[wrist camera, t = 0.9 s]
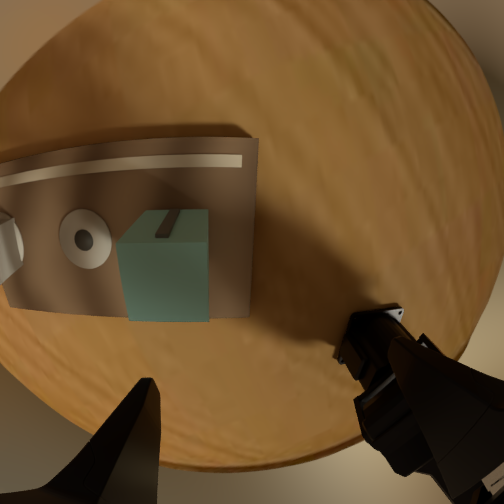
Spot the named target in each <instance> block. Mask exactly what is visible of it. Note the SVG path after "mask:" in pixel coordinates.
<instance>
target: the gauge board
mask: <svg viewBox="0 0 504 504" xmlns="http://www.w3.org/2000/svg"><path fill="white" fill-rule="evenodd" d="M258 144H259V138H239V137H174V138H154V139H139V140H127V141H117V142H108V143H100V144H93V145H86V146H79V147H73V148H67V149H61V150H56V151H51V152H46V153H41V154H37V155H32V156H28V157H24V158H20V159H16V160H12V161H8V162H5V163H1V164H0V285H1V284H2V285H3V288H4V291H5V294H6V297H7V300H8V303H9V305H10V307H13V308H20V309H28V310H37V311H46V312H55V313H66V314H78V315H91V316H108V317H128V313H127V309H126V304H125V299H124V294H123V289H122V283H121V277H120V271H119V265H118V258H117V251H116V242H117V241H118V240H119V239H120V238H121V237H122V236H123V234H124V233H125V232H126V231H127V230H128V229H129V228H130V227H131V226H132V225H133V223H134V222H135V221H136V220H137V219H138V218H139V217H140V216H141V215H142V214H143V213H144V212H145V211H146V210H170V209H180V210H183V209H208V243H209V318H243V317H249V316H250V297H251V278H252V259H253V240H254V221H255V202H256V183H257V164H258Z"/></svg>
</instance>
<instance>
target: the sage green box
mask: <svg viewBox="0 0 504 504" xmlns="http://www.w3.org/2000/svg"><path fill="white" fill-rule="evenodd" d="M116 251H117V258H118V265H119V271H120V277H121V283H122V289H123V294H124V299H125V304H126V309H127V313H128V318H129V321H155V322H209V243H208V209H183V210H180V209H170V210H146V211H145V212H144V213H143V214H142V215H141V216H140V217H139V218H138V219H137V220H136V221H135V222H134V223H133V225H132V226H131V227H130V228H129V229H128V230H127V231H126V232H125V233H124V234H123V236H122V237H121V238H120V239H119V240H118V241H117V242H116Z"/></svg>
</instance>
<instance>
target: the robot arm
mask: <svg viewBox="0 0 504 504" xmlns="http://www.w3.org/2000/svg"><path fill="white" fill-rule="evenodd" d="M403 312H404V309H403V308H402V307H393V308H386V309H379V310H372V311H364V312H356V313H353V314H352V315H351V317H350V320H349V323H348V327H347V330H346V334H345V335H344V339H343V342H342V345H341V348H340V352H339V356H338V359H337V361H338V363H339V364H346V366H347V368H348V370H349V371H350V373H351V375H352V377H353V378H354V380H356V381H357V380H359V382H360V383H361V385H362V387H363V389H364V390H365V391H364V392H363V393H362V394H361V395H359V396H357V397H356V398H354V399H353V401H354V404H355V409H356V413H357V417H358V421H359V425H360V429H361V433H362V436H363V438H364V439H365V441H366V442H367V443H369V444H370V445H371V446H372V447H373V448H374V449H376V450H377V451H380V452H381V453H382V455H383V456H384V457H385V458H386V460H387V461H388V463H389V464H390V466H391V467H392V469H393V471H394V472H395V473H397V474H399V475H401V476H404V477H407V476H408V475H410V474H411V473H413V472H417V473H421V474H426V475H430V476H431V477H432V478H433V479H434V481H435V482H436V483H437V485H438V486H439V487H440V488H441V490H442V491H443V492H444V493H445V495H446V496H447V497H448V499H449V500H450V501H451V503H452V504H504V381H503V380H500V379H497V378H494V377H491V376H489V375H486V374H484V373H482V372H479V371H477V370H475V369H472V368H470V367H468V366H466V365H464V364H462V363H459V362H457V361H455V360H453V359H451V358H449V357H446V356H445V355H444V354H443V353H442V352H441V351H440V349H439V348H438V347H437V346H436V345H435V344H434V343H433V342H432V341H431V340H430V339H429V338H428V337H427V336H426V335H425V334H424V333H422V335H421V336H420V337H419V339H418V340H417V341H416V340H415V338H414V337H413V336H412V335H411V334H410V333H409V332H408V331H407V330H406V329H405V327H404V326H403V325H402V324H401V323H400V321H401V318H402V315H403ZM160 440H161V410H160V393H159V390H158V388H157V386H156V384H155V381H154V380H153V378H141V379H140V380H139V381H138V382H137V383H136V385H135V386H134V387H133V388H132V390H131V391H130V392H129V393H128V394H127V396H126V397H125V398H124V399H123V400H122V402H121V403H120V404H119V405H118V406H117V408H116V409H115V410H114V411H113V412H112V414H111V415H110V416H109V417H108V418H107V420H106V421H105V422H104V423H103V425H102V426H101V427H100V428H99V429H98V431H97V432H96V433H95V434H94V435H93V437H92V438H91V439H90V442H88V443H87V444H86V445H85V446H84V448H83V449H82V450H81V451H80V452H79V453H78V454H77V456H76V457H75V458H74V459H73V460H72V461H71V462H70V463H69V464H68V465H67V466H66V467H65V468H64V469H62V470H61V471H60V472H59V473H58V474H57V475H56V476H55V477H54V478H53V479H52V480H51V481H49V482H48V483H47V484H46V485H44V486H42V487H40V488H37V489H32V490H26V491H19V492H11V493H2V494H0V504H157V485H158V467H159V453H160Z"/></svg>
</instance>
